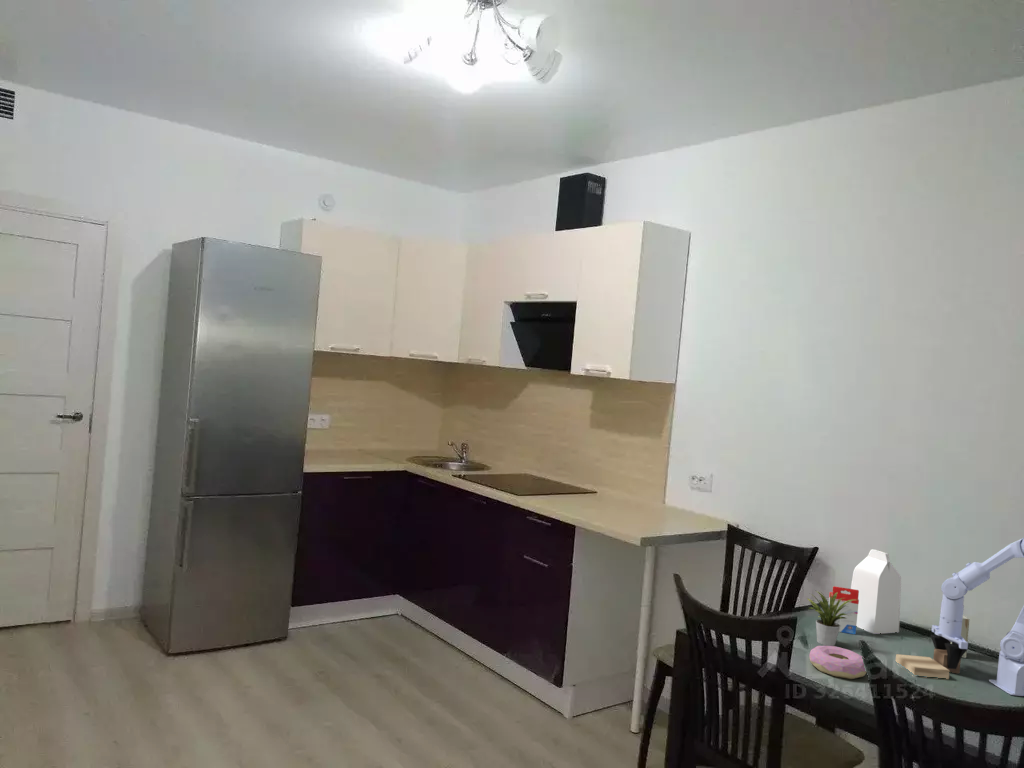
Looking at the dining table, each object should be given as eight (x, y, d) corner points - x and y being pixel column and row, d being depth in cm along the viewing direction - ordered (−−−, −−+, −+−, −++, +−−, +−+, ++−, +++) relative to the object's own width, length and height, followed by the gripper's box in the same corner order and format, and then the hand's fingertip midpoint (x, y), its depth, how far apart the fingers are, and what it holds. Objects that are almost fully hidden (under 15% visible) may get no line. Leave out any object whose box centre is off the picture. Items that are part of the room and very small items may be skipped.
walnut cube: (959, 673, 220) (961, 656, 220) (942, 672, 220) (944, 654, 220) (949, 666, 225) (950, 650, 225) (932, 665, 225) (934, 648, 225)
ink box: (853, 630, 252) (857, 586, 252) (855, 635, 247) (860, 590, 247) (825, 625, 254) (830, 582, 254) (827, 630, 250) (832, 586, 249)
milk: (845, 621, 261) (852, 546, 261) (869, 620, 266) (877, 546, 266) (873, 633, 250) (881, 556, 250) (898, 632, 255) (906, 555, 254)
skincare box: (966, 658, 234) (970, 619, 234) (951, 656, 235) (955, 617, 235) (958, 651, 240) (962, 613, 240) (943, 649, 241) (947, 611, 241)
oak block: (948, 680, 214) (949, 670, 214) (913, 677, 214) (914, 667, 214) (928, 667, 224) (929, 657, 224) (895, 664, 224) (896, 654, 224)
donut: (877, 675, 212) (879, 658, 212) (850, 686, 203) (852, 667, 203) (824, 656, 224) (826, 639, 224) (797, 665, 215) (799, 647, 215)
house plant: (843, 637, 243) (849, 587, 243) (861, 653, 229) (867, 599, 229) (798, 632, 244) (804, 582, 244) (813, 648, 230) (819, 594, 230)
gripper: (923, 609, 229) (919, 654, 229) (952, 625, 215) (947, 673, 215) (946, 611, 229) (942, 656, 230) (977, 627, 215) (972, 675, 215)
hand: (946, 664), depth 222 cm, fingers closed on walnut cube, 5 cm apart
